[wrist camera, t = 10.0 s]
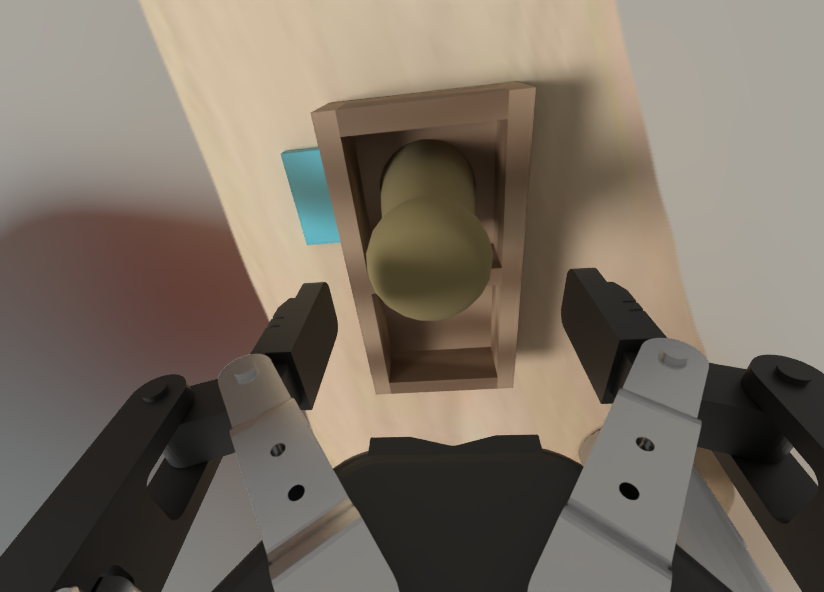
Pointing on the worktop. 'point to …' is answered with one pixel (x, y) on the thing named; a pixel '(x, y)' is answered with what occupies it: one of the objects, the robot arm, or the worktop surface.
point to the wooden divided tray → (361, 212)
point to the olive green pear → (428, 234)
